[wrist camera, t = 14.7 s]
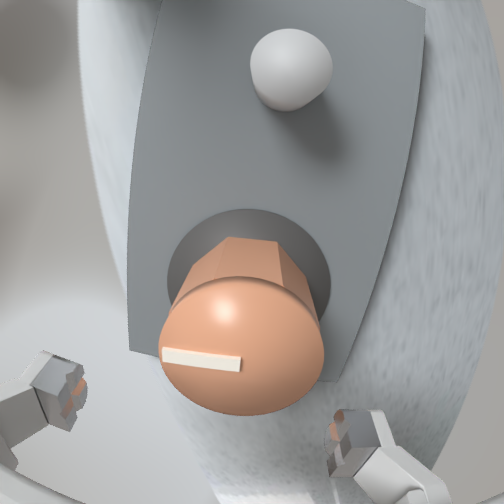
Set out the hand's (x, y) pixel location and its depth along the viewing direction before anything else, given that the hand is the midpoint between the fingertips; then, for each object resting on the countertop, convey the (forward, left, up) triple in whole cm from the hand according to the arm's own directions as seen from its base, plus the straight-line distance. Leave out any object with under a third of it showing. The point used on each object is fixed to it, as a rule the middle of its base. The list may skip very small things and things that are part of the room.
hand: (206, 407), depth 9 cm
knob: (0, +1, -9) cm, 9 cm away
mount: (-6, +1, -11) cm, 13 cm away
